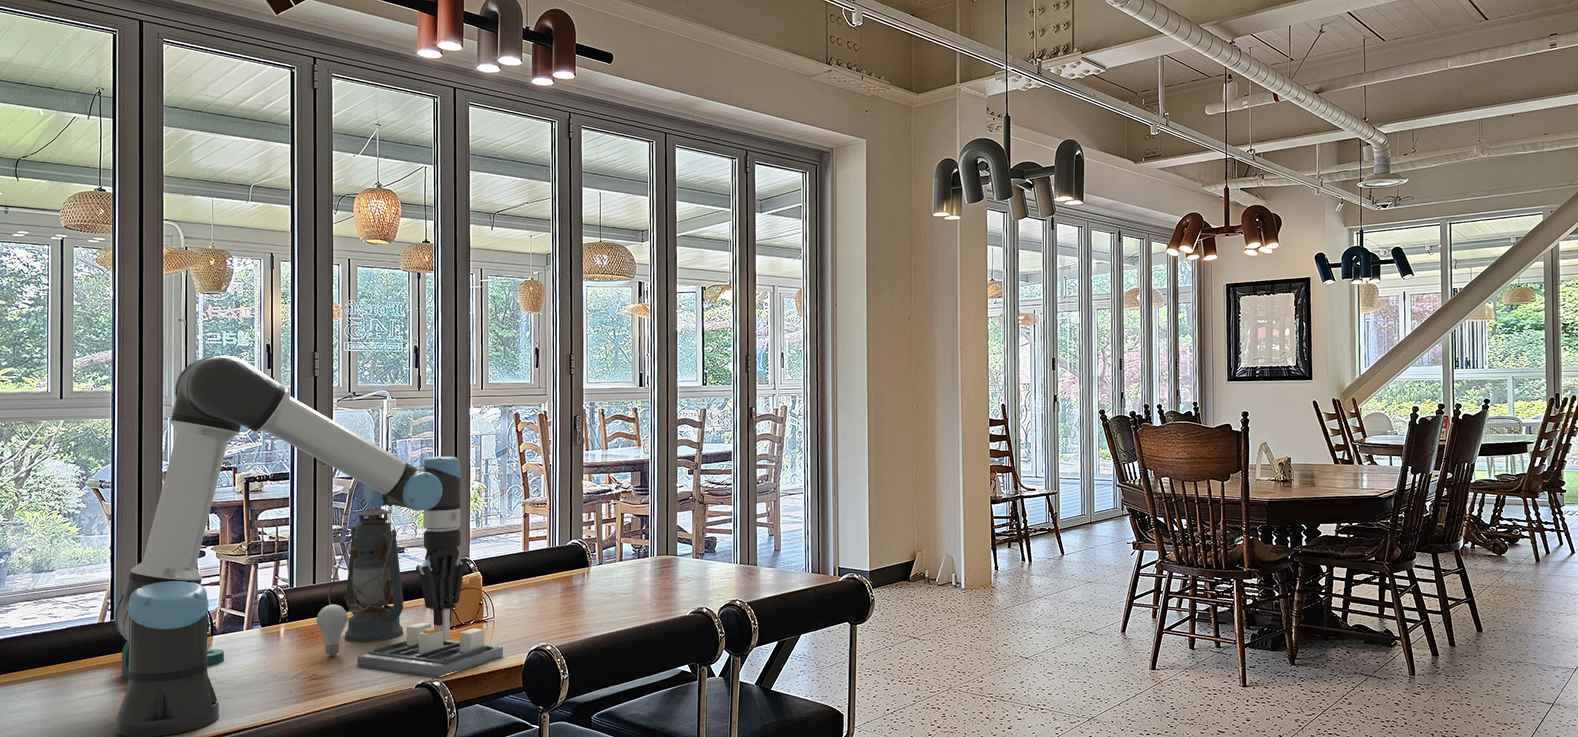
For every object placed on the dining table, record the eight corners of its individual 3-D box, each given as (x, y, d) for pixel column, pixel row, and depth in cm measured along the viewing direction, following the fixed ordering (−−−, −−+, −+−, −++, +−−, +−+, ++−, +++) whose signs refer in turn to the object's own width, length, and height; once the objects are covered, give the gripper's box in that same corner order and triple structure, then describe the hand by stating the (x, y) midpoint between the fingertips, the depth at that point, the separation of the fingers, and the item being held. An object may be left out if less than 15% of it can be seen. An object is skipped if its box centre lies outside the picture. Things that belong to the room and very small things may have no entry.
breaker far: (417, 646, 224) (416, 627, 224) (406, 645, 225) (406, 626, 225) (430, 642, 227) (430, 623, 227) (420, 640, 228) (420, 622, 229)
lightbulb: (336, 660, 221) (335, 608, 221) (310, 659, 222) (310, 607, 223) (353, 653, 227) (353, 602, 227) (328, 651, 228) (328, 601, 229)
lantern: (424, 634, 244) (423, 506, 245) (372, 647, 232) (372, 512, 233) (370, 626, 254) (369, 503, 255) (317, 638, 242) (317, 509, 243)
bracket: (134, 681, 207) (134, 642, 207) (121, 676, 211) (121, 637, 212) (229, 662, 221) (229, 625, 221) (215, 658, 225) (215, 621, 225)
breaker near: (470, 652, 217) (470, 633, 217) (459, 651, 218) (459, 632, 218) (484, 648, 221) (483, 629, 221) (473, 647, 222) (473, 628, 222)
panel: (440, 677, 206) (440, 663, 206) (357, 665, 216) (357, 652, 216) (502, 656, 222) (502, 643, 222) (422, 646, 232) (422, 633, 232)
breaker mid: (429, 653, 217) (429, 631, 217) (418, 652, 218) (418, 630, 218) (443, 649, 220) (443, 627, 220) (432, 648, 222) (432, 626, 222)
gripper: (432, 533, 215) (433, 648, 215) (477, 526, 227) (477, 634, 227) (406, 531, 219) (406, 644, 218) (450, 524, 230) (451, 631, 230)
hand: (442, 639), depth 222 cm, fingers closed
